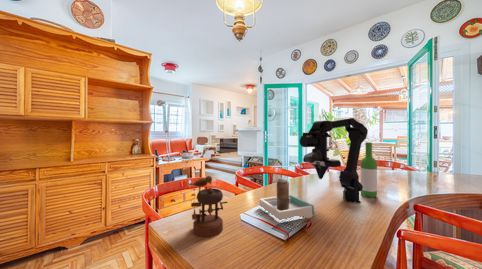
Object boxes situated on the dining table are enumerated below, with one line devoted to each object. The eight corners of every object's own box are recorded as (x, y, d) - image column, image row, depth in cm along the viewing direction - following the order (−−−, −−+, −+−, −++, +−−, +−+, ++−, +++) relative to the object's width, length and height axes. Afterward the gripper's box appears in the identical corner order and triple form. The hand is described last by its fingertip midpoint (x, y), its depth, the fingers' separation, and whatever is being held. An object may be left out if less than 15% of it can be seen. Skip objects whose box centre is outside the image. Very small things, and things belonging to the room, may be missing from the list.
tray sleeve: (288, 203, 97) (288, 194, 97) (312, 217, 81) (312, 206, 81) (259, 208, 91) (259, 198, 91) (279, 223, 75) (279, 212, 75)
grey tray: (291, 202, 96) (291, 194, 96) (313, 214, 82) (313, 205, 82) (263, 207, 90) (263, 198, 90) (281, 221, 76) (281, 210, 76)
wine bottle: (380, 196, 107) (380, 142, 107) (370, 198, 104) (371, 142, 104) (366, 192, 115) (366, 142, 114) (357, 194, 112) (357, 142, 112)
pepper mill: (290, 209, 86) (290, 178, 86) (285, 212, 82) (285, 180, 82) (280, 206, 89) (280, 177, 89) (274, 209, 85) (274, 179, 85)
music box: (195, 243, 62) (193, 179, 63) (185, 231, 71) (183, 176, 72) (236, 230, 70) (233, 174, 71) (222, 221, 79) (220, 171, 81)
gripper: (294, 146, 100) (294, 176, 100) (322, 148, 82) (322, 185, 82) (311, 145, 104) (311, 174, 104) (341, 147, 86) (341, 182, 86)
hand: (320, 179), depth 94 cm, fingers closed
